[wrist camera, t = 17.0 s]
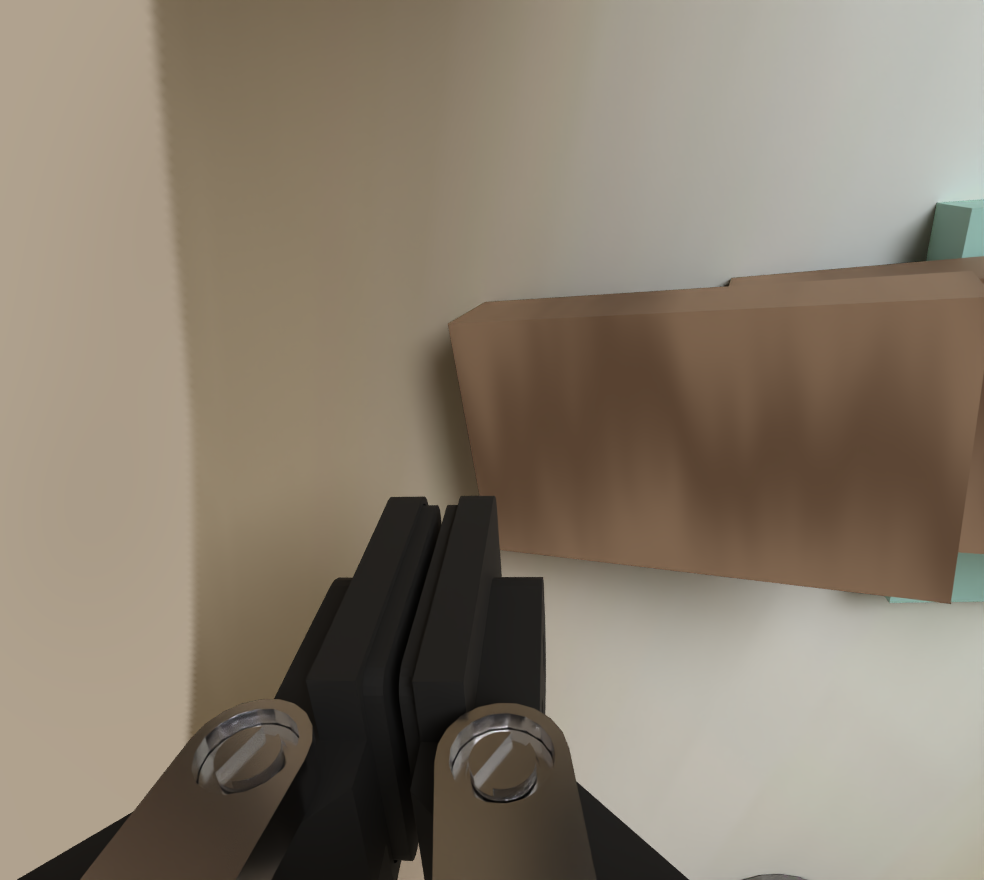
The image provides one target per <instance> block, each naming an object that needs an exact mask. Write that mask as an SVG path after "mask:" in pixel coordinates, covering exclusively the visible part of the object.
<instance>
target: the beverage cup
mask: <svg viewBox="0 0 984 880" xmlns="http://www.w3.org/2000/svg"><path fill="white" fill-rule="evenodd" d="M745 880H806V879H803V878H801V877H794V876H788V875H761V876H757V877H753V878H749V879H745Z"/></svg>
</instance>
